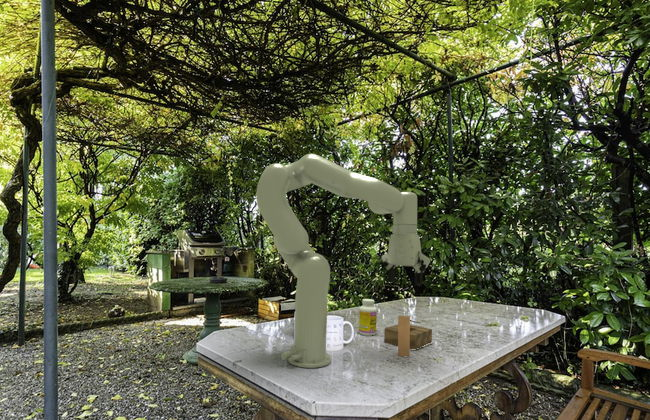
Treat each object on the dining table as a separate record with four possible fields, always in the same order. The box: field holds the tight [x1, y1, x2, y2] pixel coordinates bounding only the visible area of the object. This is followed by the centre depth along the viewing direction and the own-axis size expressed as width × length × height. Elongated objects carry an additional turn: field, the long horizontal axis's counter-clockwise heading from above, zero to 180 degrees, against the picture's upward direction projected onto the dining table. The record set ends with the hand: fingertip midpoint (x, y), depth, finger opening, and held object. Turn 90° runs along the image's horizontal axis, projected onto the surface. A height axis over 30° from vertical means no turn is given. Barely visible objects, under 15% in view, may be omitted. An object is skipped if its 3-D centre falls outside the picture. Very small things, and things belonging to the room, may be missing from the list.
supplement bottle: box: [358, 298, 378, 337], centre depth 140 cm, size 7×7×13 cm
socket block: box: [383, 324, 433, 349], centre depth 129 cm, size 12×12×5 cm
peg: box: [397, 314, 411, 357], centre depth 116 cm, size 4×4×12 cm
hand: (404, 283), depth 117 cm, fingers open, 9 cm apart
